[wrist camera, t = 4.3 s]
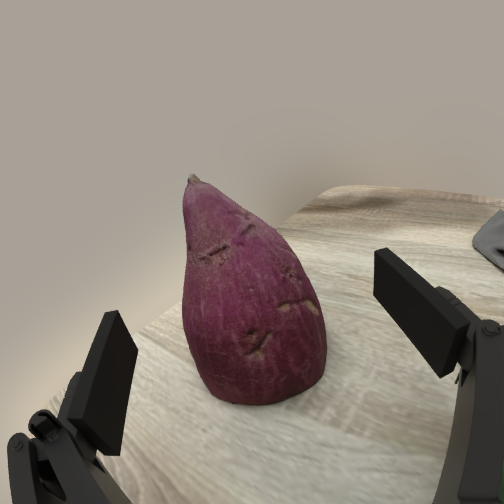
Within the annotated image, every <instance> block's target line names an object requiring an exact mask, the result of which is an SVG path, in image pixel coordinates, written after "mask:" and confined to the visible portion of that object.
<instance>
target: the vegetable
mask: <svg viewBox="0 0 504 504" xmlns="http://www.w3.org/2000/svg"><path fill="white" fill-rule="evenodd" d="M183 216H184V223H185V230H186V243H187V262H186V270H185V281H184V289H183V299H182V319H183V327H184V332H185V335H186V339H187V342H188V345H189V349H190V352H191V354H192V356H193V358H194V360H195V363H196V367H197V370H198V372H199V374H200V377H201V378H202V380H203V382H204V384H205V385H206V387H207V388H208V390H209V391H210V393H211V394H212V395H214V396H216V397H217V398H219V399H222V400H224V401H228V402H230V403H232V404H234V403H238V404H245V405H267V404H271V403H276V402H279V401H282V400H284V399H286V398H288V397H292V396H294V395H296V394H298V393H300V392H302V391H304V390H306V389H308V388H309V387H311V386H312V385H313V384H315V383H316V382H317V381H318V380H319V379H320V378H321V376H322V374H323V371H324V367H325V362H326V353H327V342H326V330H325V323H324V318H323V314H322V311H321V307H320V303H319V300H318V298H317V296H316V293H315V291H314V289H313V287H312V285H311V283H310V280H309V278H308V277H307V275H306V273H305V272H304V269H303V267H302V265H301V263H300V261H299V259H298V258H297V256H296V254H295V253H294V252H293V250H292V249H291V247H290V246H289V245H288V243H287V242H286V241H285V239H284V238H283V237H282V236H281V235H280V234H278V233H277V231H276V230H275V229H274V228H272V227H271V226H269V225H268V224H267V223H265V222H264V221H263V220H262V219H260V218H259V217H257V216H256V215H254V214H252V213H251V212H249V211H247V210H246V209H244V208H242V207H241V206H240V205H238V204H236V202H234V201H233V200H231V199H230V198H229V197H227V196H226V195H225V194H223V193H222V192H220V191H219V190H218V189H217V188H215V187H214V186H212V185H211V184H208V183H205V182H202V181H200V179H198V178H197V177H196V176H195V174H190V175H189V178H188V185H187V187H186V189H185V193H184V197H183Z"/></svg>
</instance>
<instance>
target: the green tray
mask: <svg viewBox="0 0 504 504" xmlns="http://www.w3.org/2000/svg"><path fill="white" fill-rule="evenodd" d="M498 498H499V499H500V500H501V501H502V504H504V462H503V469H502V475H501V481H500V486H499V491H498Z"/></svg>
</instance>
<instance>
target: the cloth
mask: <svg viewBox="0 0 504 504" xmlns="http://www.w3.org/2000/svg"><path fill="white" fill-rule="evenodd" d="M473 246H474V247H475V248H476V249H478V250H479V251H480V252H481V253H482V254H483V255H485V256H486V257H487V258H488V259H489V260H490V261H492V262H493V263H495V264H496V265H497V266H499V267H500V268H502V269H503V270H504V212H503V211H502V210H501V209H500V210H499V211H498V212H497V213H496V214H495V215H494V216H493V217H491V218H490V219H489V220H488V222H487V223H486V224H484V225H483V226H482V227H481V229H480V230H479V231H478V232H477V233H476V234H475V236H474V237H473Z"/></svg>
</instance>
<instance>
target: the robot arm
mask: <svg viewBox="0 0 504 504" xmlns="http://www.w3.org/2000/svg"><path fill="white" fill-rule="evenodd" d="M373 296H374V297H375V298H376V299H377V300H378V302H379V303H380V304H381V305H382V306H383V307H384V309H385V310H386V311H387V312H388V313H389V315H390V316H391V317H392V318H393V320H394V321H395V322H396V323H397V324H398V326H399V327H400V328H401V329H402V331H403V332H404V333H405V334H406V336H407V337H408V338H409V339H410V341H411V342H412V343H413V344H414V346H415V347H416V348H417V350H418V351H419V352H420V353H421V355H422V356H423V357H424V359H425V360H426V361H427V362H428V364H429V365H430V366H431V368H432V369H433V370H434V372H435V373H436V374H437V376H438V377H439V378H442V377H444V376H446V375H448V374H450V373H451V372H453V371H454V368H455V366H456V363H457V362H458V363H459V364H460V366H461V369H460V372H459V374H458V376H457V379H456V381H455V384H457V383H458V380H459V383H458V392H457V400H456V407H455V414H454V420H453V425H452V431H451V436H450V441H449V446H448V450H447V454H446V459H445V463H444V467H443V470H442V474H441V478H440V481H439V484H438V488H437V491H436V494H435V497H434V500H433V503H432V504H502V501H501V500H500V499H499V498H498V491H499V486H500V481H501V475H502V469H503V462H504V325H502V326H500V324H499V323H497V322H495V321H493V320H481V319H480V318H479V317H478V316H477V315H475V314H474V313H473V312H472V311H471V310H470V309H469V308H468V307H467V306H466V305H465V304H464V303H462V302H461V301H460V300H459V299H458V298H456V296H455V295H453V294H452V293H451V292H450V291H449V290H447V289H445V288H442V287H440V286H439V287H436V288H434V287H433V286H432V285H430V284H429V283H428V282H427V281H426V280H425V279H424V278H422V277H421V276H420V275H419V274H418V273H417V272H416V271H414V270H413V269H412V268H411V267H410V266H409V265H407V264H406V263H405V262H404V261H403V260H401V259H400V258H399V257H398V256H397V255H395V254H394V253H393V252H392V251H391V250H389V249H388V248H383V249H379V250H376V251H374V290H373ZM137 355H138V348H137V347H136V345H135V343H134V341H133V339H132V337H131V335H130V333H129V332H128V329H127V328H126V326H125V324H124V322H123V320H122V318H121V316H120V313H119V312H118V310H116V311H110V312H105V314H104V316H103V319H102V321H101V323H100V326H99V328H98V331H97V333H96V336H95V338H94V341H93V343H92V345H91V348H90V351H89V353H88V356H87V358H86V361H85V364H84V367H83V369H82V372H76V373H75V375H74V376H73V377H72V379H71V380H70V382H69V385H68V388H67V391H66V393H65V398H64V399H63V402H62V405H61V408H60V411H59V414H58V417H57V418H56V417H55V416H54V415H53V414H52V413H51V412H50V411H49V410H46V409H45V410H40V411H38V412H36V413H35V414H34V415H33V416H32V417H31V419H30V421H29V424H28V428H29V431H30V432H31V433H32V434H33V435H34V436H35V437H36V438H33V439H29V438H28V437H27V436H26V435H25V434H24V433H16V434H15V435H13V436H12V437H11V438H10V440H9V442H8V446H7V454H8V470H9V480H10V489H11V496H12V503H13V504H132V503H131V501H130V500H129V499H128V498H127V496H126V495H125V494H124V493H123V491H122V490H121V489H120V487H119V486H118V485H117V483H116V482H115V481H114V479H113V478H112V476H111V475H110V474H109V472H108V471H107V469H106V468H105V467H104V465H103V464H102V462H101V461H100V459H99V458H98V457H97V456H96V452H97V449H98V450H99V451H100V452H101V453H102V454H103V455H105V456H120V452H121V445H122V438H123V431H124V424H125V418H126V412H127V406H128V400H129V395H130V389H131V384H132V379H133V374H134V369H135V364H136V359H137Z"/></svg>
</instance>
